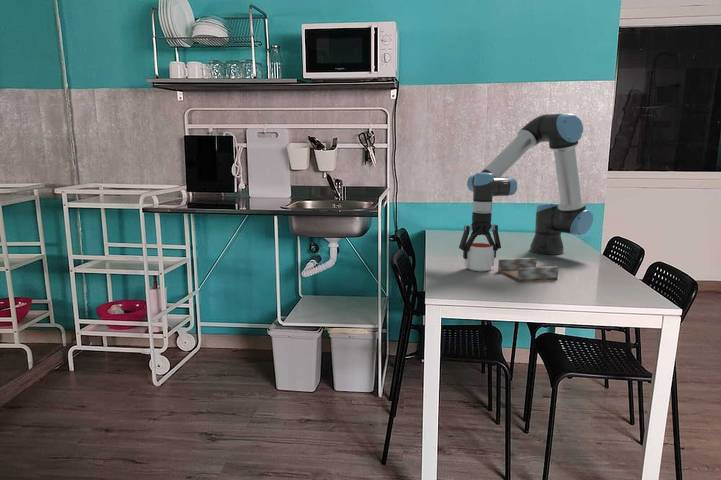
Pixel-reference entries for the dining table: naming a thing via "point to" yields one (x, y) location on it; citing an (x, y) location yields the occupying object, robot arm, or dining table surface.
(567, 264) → the dining table surface
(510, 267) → the cradle
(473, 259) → the cup
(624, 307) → the dining table surface
